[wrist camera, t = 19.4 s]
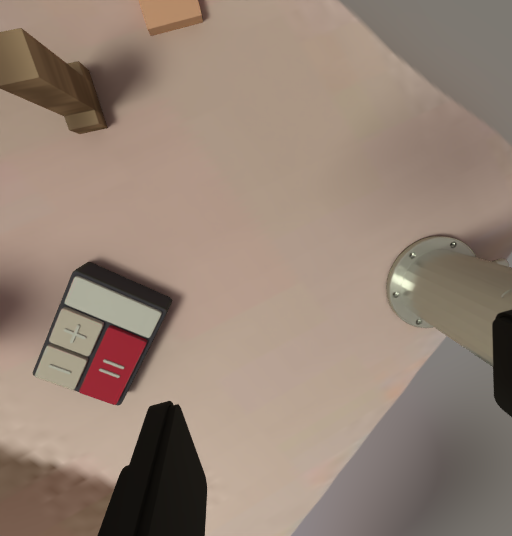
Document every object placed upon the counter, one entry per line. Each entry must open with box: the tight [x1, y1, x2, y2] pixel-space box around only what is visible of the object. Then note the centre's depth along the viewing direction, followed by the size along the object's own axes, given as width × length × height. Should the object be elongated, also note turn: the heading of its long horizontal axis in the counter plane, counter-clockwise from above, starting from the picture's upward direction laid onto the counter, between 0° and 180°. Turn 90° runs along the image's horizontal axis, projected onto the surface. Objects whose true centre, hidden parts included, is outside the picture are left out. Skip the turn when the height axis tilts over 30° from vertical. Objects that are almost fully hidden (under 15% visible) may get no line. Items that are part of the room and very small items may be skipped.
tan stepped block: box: [0, 28, 107, 134], centre depth 27 cm, size 3×6×12 cm, turn 13°
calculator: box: [33, 262, 172, 405], centre depth 38 cm, size 11×4×15 cm
